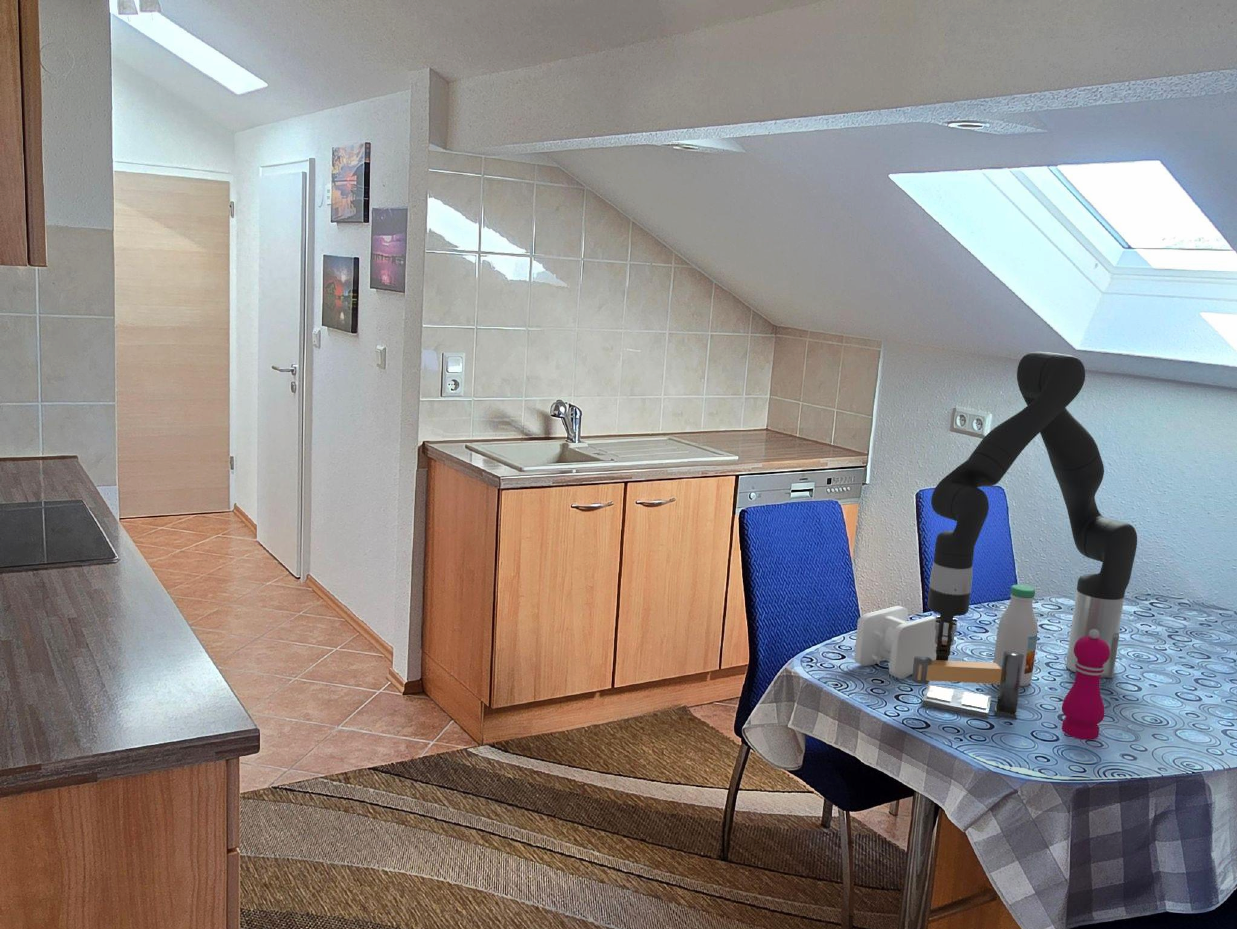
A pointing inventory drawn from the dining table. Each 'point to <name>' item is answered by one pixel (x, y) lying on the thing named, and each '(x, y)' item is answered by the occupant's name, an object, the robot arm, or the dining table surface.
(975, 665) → the swing bar
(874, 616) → the cable organizer
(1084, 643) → the pepper mill
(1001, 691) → the post
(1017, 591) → the milk bottle
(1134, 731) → the dining table surface
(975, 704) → the label plate
